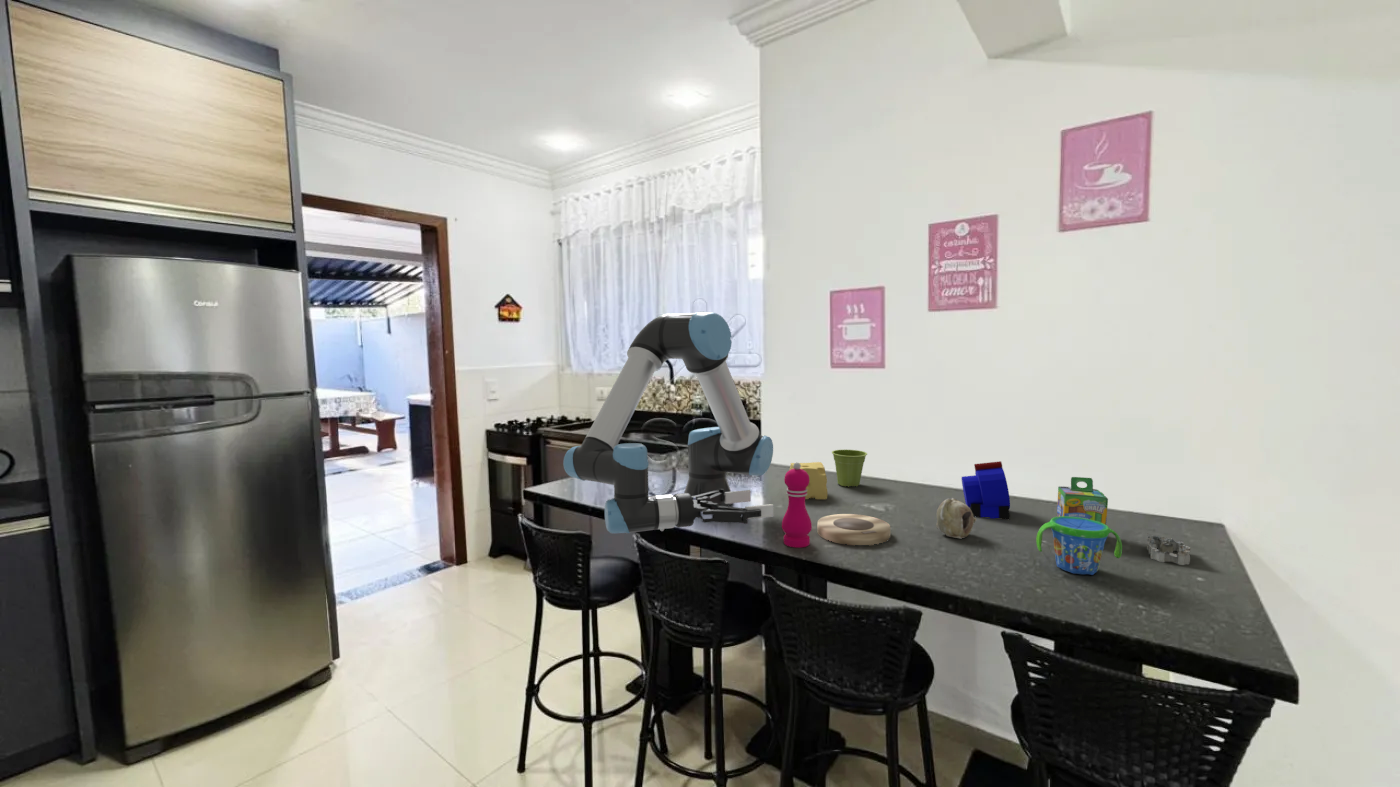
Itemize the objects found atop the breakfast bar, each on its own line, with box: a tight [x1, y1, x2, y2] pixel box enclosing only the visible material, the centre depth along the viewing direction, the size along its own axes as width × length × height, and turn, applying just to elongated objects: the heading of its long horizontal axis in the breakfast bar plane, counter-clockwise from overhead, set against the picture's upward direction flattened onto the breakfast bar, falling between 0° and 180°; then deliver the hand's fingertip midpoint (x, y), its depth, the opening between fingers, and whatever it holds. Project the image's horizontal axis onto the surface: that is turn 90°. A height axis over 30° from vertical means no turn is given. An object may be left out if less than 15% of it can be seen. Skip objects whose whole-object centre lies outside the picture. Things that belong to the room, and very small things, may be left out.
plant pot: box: [831, 449, 868, 488], centre depth 201 cm, size 12×12×11 cm
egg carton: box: [1146, 533, 1191, 566], centre depth 133 cm, size 11×8×4 cm
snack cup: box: [1035, 516, 1123, 576], centre depth 125 cm, size 16×10×10 cm
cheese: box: [788, 461, 828, 500], centre depth 188 cm, size 10×11×10 cm
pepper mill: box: [781, 462, 813, 549], centre depth 142 cm, size 7×7×20 cm
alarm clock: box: [961, 461, 1011, 520], centre depth 168 cm, size 12×12×15 cm
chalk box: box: [1056, 476, 1109, 525], centre depth 146 cm, size 9×9×15 cm
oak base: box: [816, 513, 891, 546], centre depth 150 cm, size 18×18×3 cm
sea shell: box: [935, 497, 977, 540], centre depth 148 cm, size 9×8×10 cm
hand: (761, 502), depth 139 cm, fingers open, 13 cm apart
